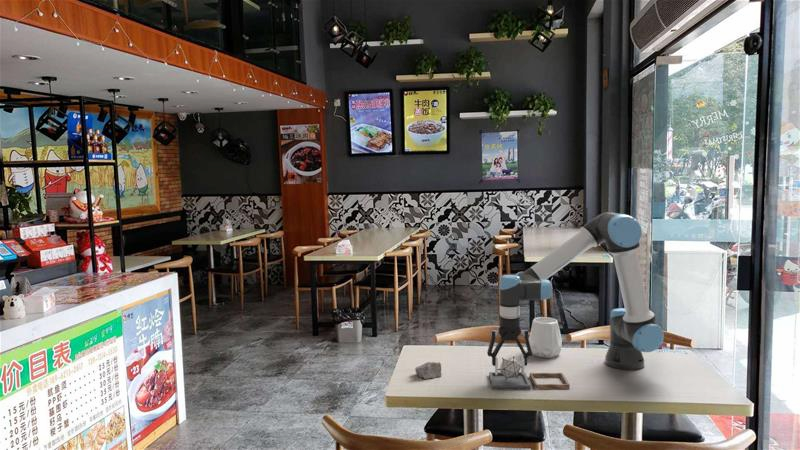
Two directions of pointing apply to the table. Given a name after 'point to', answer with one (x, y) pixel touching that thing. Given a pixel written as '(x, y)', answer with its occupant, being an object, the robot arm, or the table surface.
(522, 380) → the tray
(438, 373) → the stone
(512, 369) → the game die
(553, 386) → the corral
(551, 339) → the vase
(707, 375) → the table surface
